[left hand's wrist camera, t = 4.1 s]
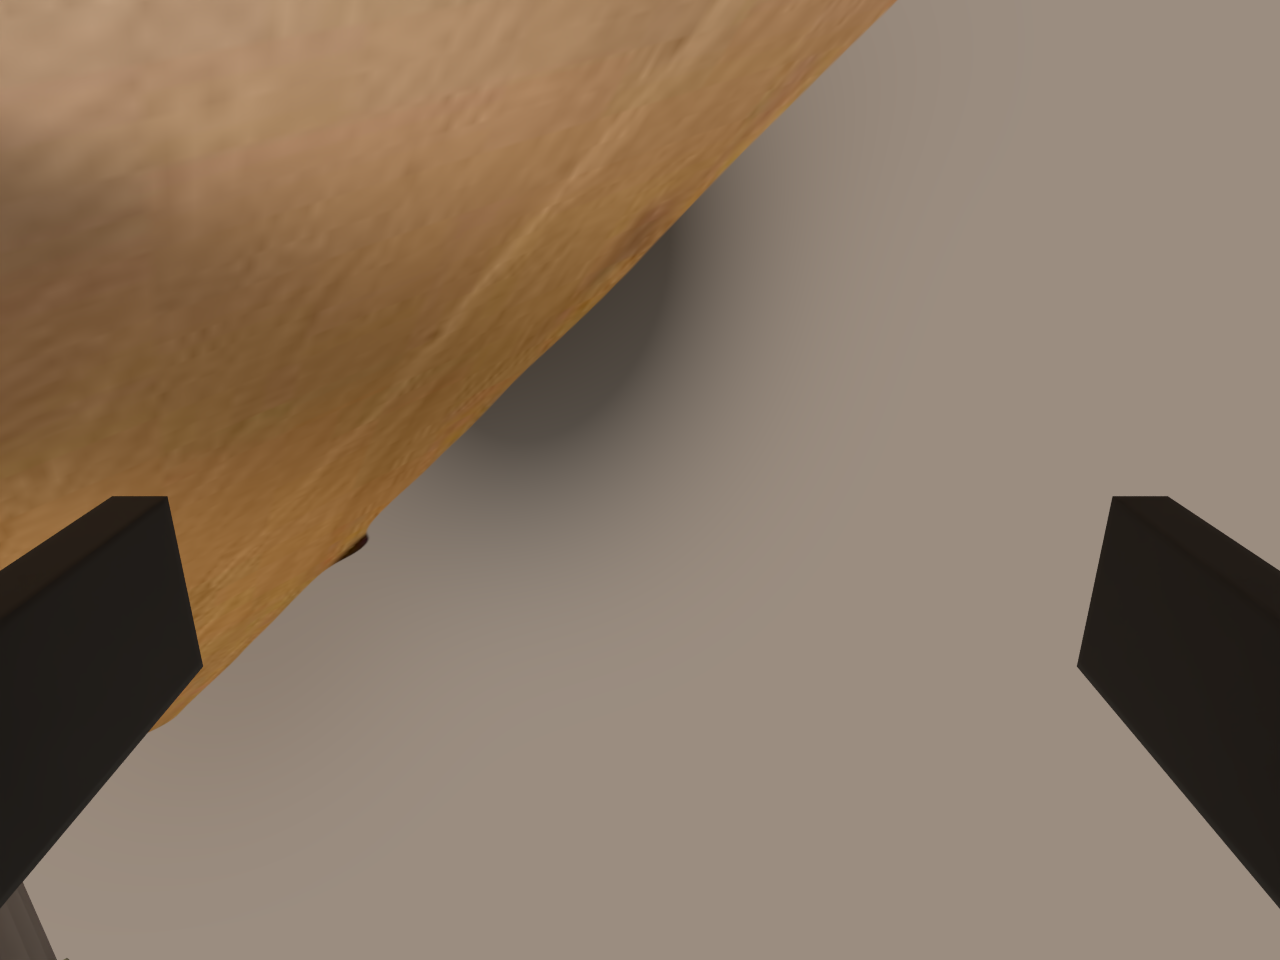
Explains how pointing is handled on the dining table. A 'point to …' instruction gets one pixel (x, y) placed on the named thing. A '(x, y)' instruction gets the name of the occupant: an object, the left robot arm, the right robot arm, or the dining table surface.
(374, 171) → the dining table surface
